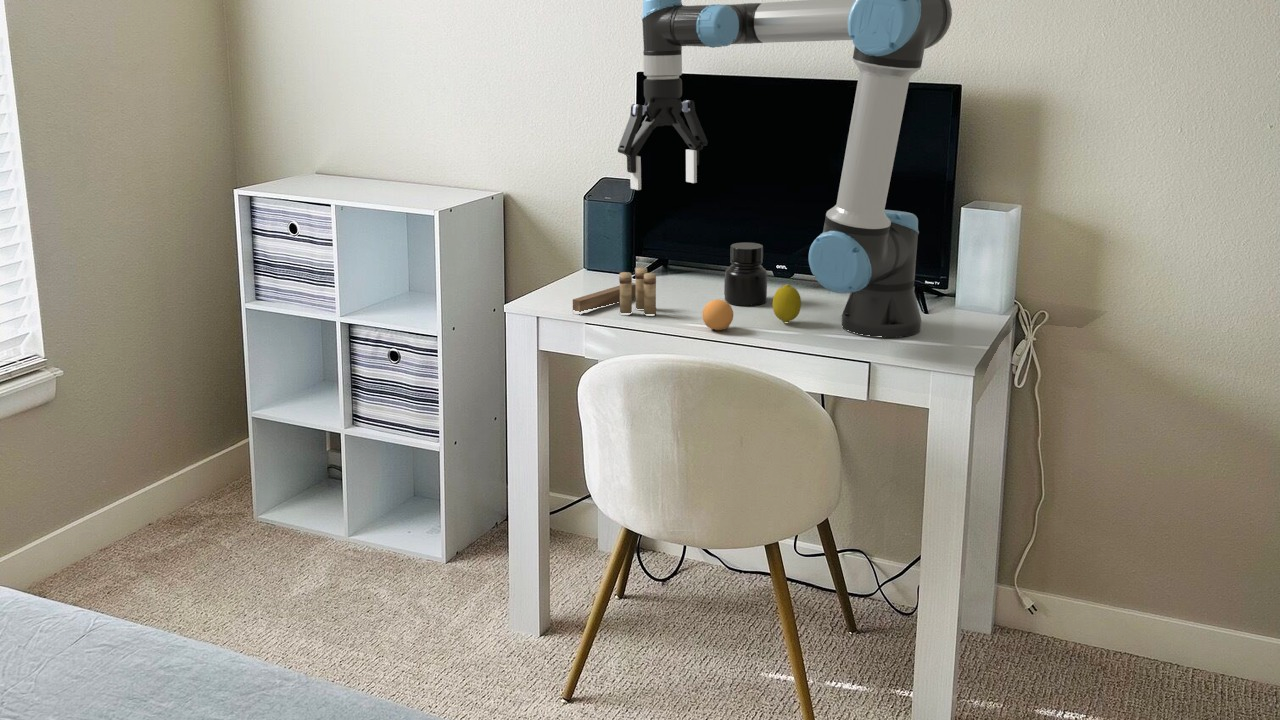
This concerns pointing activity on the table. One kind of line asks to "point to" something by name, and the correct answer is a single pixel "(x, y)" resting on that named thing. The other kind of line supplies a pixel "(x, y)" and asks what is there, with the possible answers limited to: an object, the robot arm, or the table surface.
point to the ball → (717, 314)
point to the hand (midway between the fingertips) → (664, 185)
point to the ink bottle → (746, 275)
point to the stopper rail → (600, 298)
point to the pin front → (649, 293)
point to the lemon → (786, 303)
